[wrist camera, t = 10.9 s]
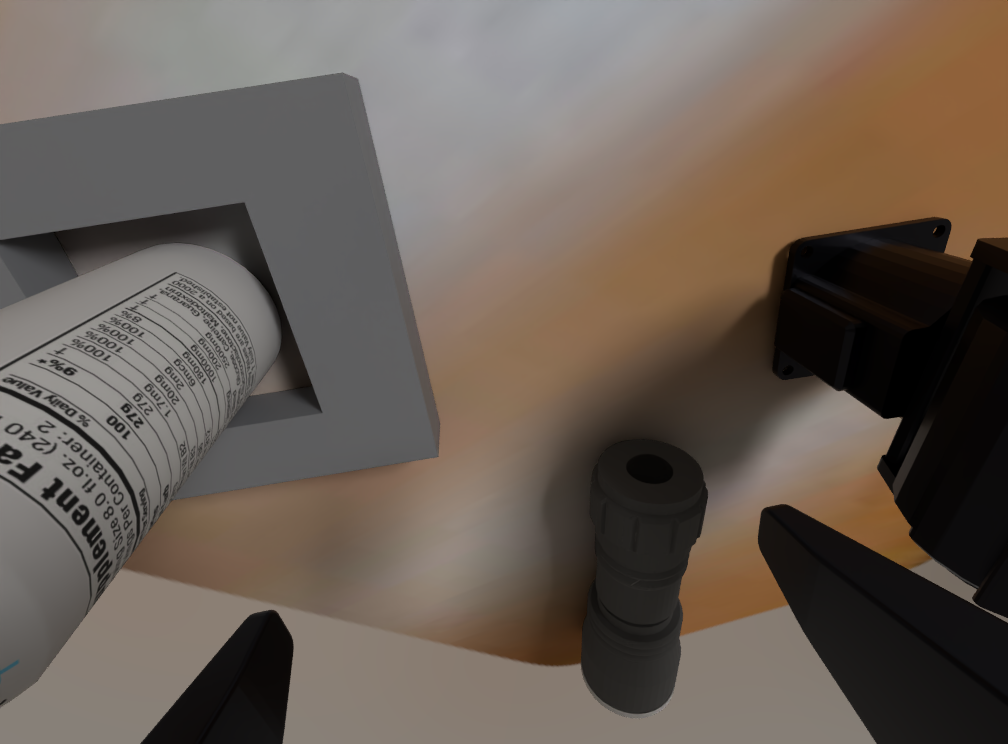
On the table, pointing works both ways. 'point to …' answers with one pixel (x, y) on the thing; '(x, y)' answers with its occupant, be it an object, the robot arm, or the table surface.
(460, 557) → the table surface
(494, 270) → the table surface
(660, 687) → the flashlight
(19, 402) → the energy drink can
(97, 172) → the socket block
